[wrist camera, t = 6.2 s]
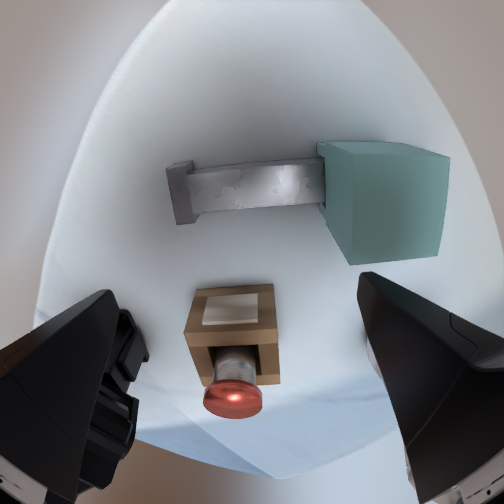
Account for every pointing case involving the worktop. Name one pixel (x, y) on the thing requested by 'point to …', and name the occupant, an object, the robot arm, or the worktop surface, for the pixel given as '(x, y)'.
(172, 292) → the worktop surface
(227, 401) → the button
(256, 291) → the brown button housing
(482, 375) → the robot arm
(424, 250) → the carriage
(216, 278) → the worktop surface
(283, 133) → the worktop surface
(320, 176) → the rail
